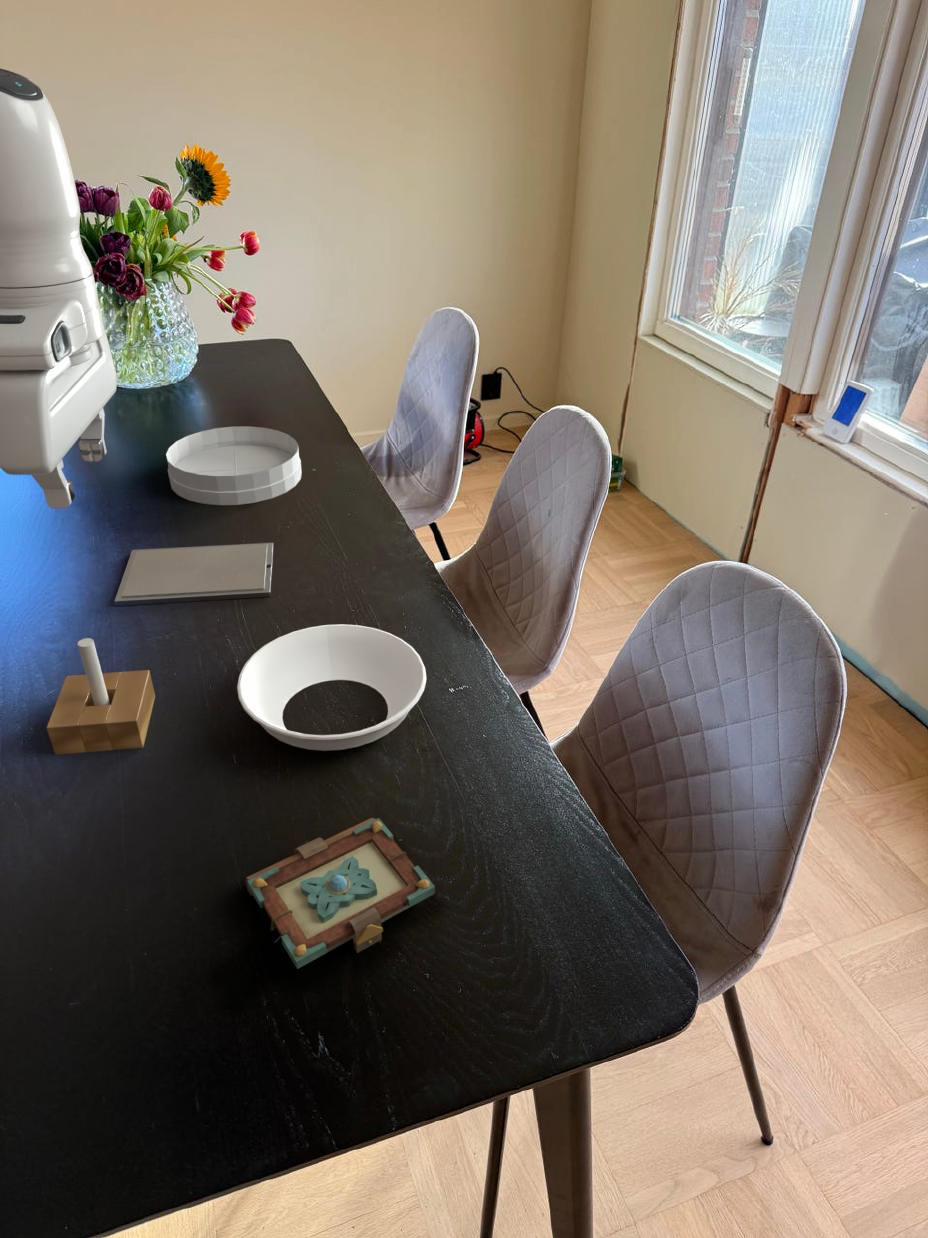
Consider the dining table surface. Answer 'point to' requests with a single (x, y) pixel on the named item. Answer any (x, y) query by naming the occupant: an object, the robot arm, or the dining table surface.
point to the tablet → (197, 574)
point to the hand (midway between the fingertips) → (79, 480)
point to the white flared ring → (331, 678)
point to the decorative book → (338, 890)
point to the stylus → (93, 672)
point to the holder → (102, 714)
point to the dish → (234, 465)
